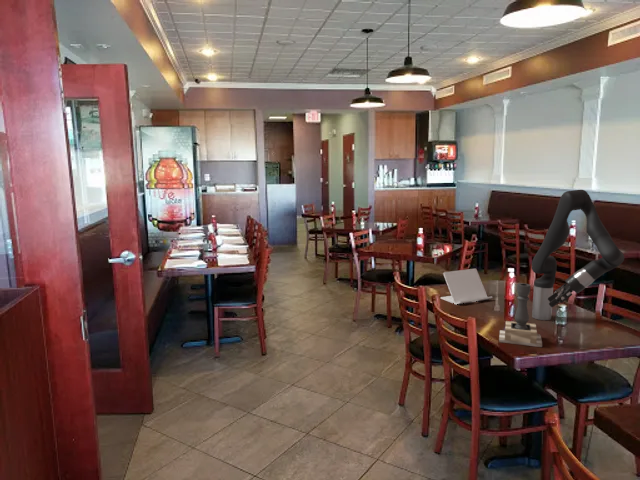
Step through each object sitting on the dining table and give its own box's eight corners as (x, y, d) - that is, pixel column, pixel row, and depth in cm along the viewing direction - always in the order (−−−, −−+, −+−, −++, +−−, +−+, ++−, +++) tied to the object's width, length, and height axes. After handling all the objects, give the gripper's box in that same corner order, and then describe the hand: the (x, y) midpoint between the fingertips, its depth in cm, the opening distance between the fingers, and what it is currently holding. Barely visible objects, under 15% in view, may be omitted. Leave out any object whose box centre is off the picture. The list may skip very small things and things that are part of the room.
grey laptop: (439, 298, 291) (440, 271, 288) (471, 293, 301) (473, 267, 299) (459, 306, 275) (461, 277, 272) (493, 301, 285) (494, 273, 282)
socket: (499, 332, 232) (500, 320, 231) (540, 337, 225) (541, 324, 224) (498, 342, 219) (499, 329, 218) (542, 347, 213) (542, 333, 212)
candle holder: (524, 334, 225) (527, 283, 221) (530, 339, 219) (533, 286, 215) (511, 334, 225) (514, 283, 221) (516, 339, 219) (520, 286, 215)
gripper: (571, 270, 216) (542, 292, 222) (575, 277, 203) (544, 301, 209) (584, 283, 215) (554, 305, 221) (588, 290, 202) (556, 313, 208)
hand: (549, 303), depth 215 cm, fingers open, 8 cm apart
